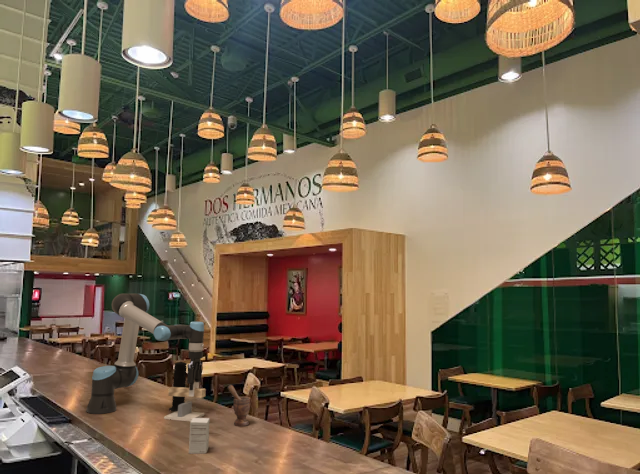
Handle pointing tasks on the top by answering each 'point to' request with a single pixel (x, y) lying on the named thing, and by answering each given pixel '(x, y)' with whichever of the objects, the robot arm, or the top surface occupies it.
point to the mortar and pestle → (240, 407)
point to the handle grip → (179, 383)
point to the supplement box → (199, 435)
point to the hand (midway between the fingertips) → (193, 395)
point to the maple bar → (186, 392)
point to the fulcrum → (184, 413)
